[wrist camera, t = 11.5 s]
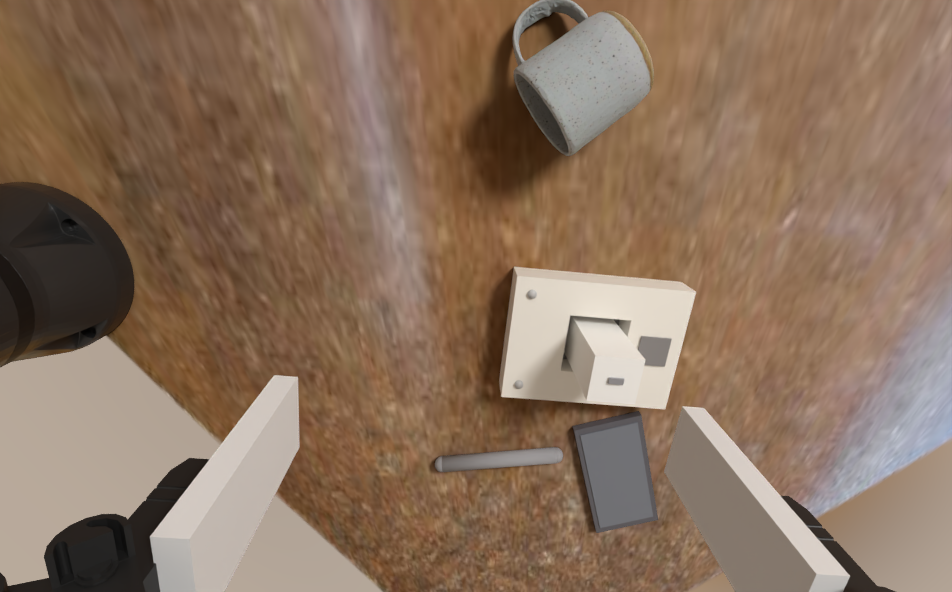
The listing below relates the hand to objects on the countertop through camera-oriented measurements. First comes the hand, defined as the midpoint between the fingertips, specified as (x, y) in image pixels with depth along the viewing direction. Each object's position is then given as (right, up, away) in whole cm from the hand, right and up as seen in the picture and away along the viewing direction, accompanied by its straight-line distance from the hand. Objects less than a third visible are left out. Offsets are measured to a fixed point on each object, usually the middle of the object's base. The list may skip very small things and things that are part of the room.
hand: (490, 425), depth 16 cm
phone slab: (+15, -15, +36) cm, 41 cm away
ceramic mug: (+6, +23, +23) cm, 33 cm away
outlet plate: (+10, +1, +30) cm, 32 cm away
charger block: (+10, +1, +30) cm, 32 cm away
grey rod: (+2, -13, +35) cm, 37 cm away
